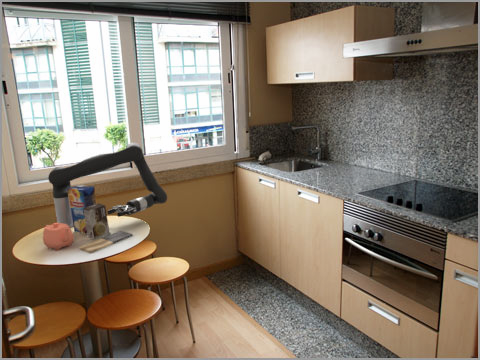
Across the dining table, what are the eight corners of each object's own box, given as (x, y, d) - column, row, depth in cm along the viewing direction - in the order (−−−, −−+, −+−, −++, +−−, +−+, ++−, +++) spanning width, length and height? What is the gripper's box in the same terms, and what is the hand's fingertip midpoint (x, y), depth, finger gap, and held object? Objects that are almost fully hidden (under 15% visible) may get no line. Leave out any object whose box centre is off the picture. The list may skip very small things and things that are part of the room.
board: (79, 248, 187) (78, 246, 186) (120, 232, 205) (120, 230, 205) (91, 253, 181) (91, 251, 180) (132, 235, 199) (132, 233, 199)
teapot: (37, 247, 191) (33, 224, 188) (60, 238, 201) (56, 216, 198) (61, 255, 180) (57, 230, 178) (83, 245, 190) (80, 222, 187)
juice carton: (100, 229, 211) (94, 186, 205) (89, 234, 205) (82, 190, 199) (85, 226, 217) (78, 184, 211) (74, 231, 210) (67, 188, 205)
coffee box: (103, 232, 207) (98, 202, 203) (110, 234, 203) (105, 204, 199) (87, 237, 200) (82, 207, 196) (94, 240, 196) (89, 209, 192)
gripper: (128, 197, 223) (103, 205, 211) (144, 200, 215) (120, 208, 202) (129, 209, 225) (105, 218, 212) (146, 213, 217) (122, 222, 204)
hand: (112, 213), depth 207 cm, fingers open, 8 cm apart
